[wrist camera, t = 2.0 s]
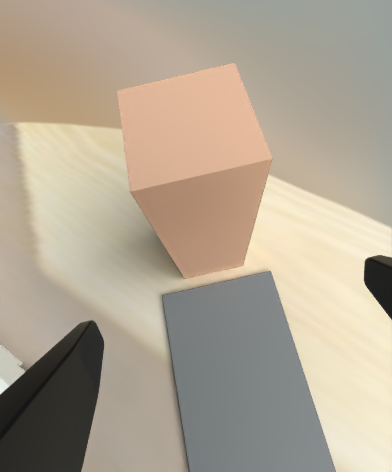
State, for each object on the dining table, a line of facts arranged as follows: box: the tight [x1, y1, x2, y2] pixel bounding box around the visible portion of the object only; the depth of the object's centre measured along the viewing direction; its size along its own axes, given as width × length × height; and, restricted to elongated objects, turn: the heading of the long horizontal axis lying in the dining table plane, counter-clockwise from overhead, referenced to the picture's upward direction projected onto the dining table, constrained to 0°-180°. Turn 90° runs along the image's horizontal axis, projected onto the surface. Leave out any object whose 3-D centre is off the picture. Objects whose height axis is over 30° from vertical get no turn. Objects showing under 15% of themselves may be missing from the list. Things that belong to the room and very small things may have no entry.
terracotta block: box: [117, 63, 272, 279], centre depth 16 cm, size 5×5×14 cm
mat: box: [162, 271, 336, 472], centre depth 18 cm, size 16×9×1 cm, turn 12°
